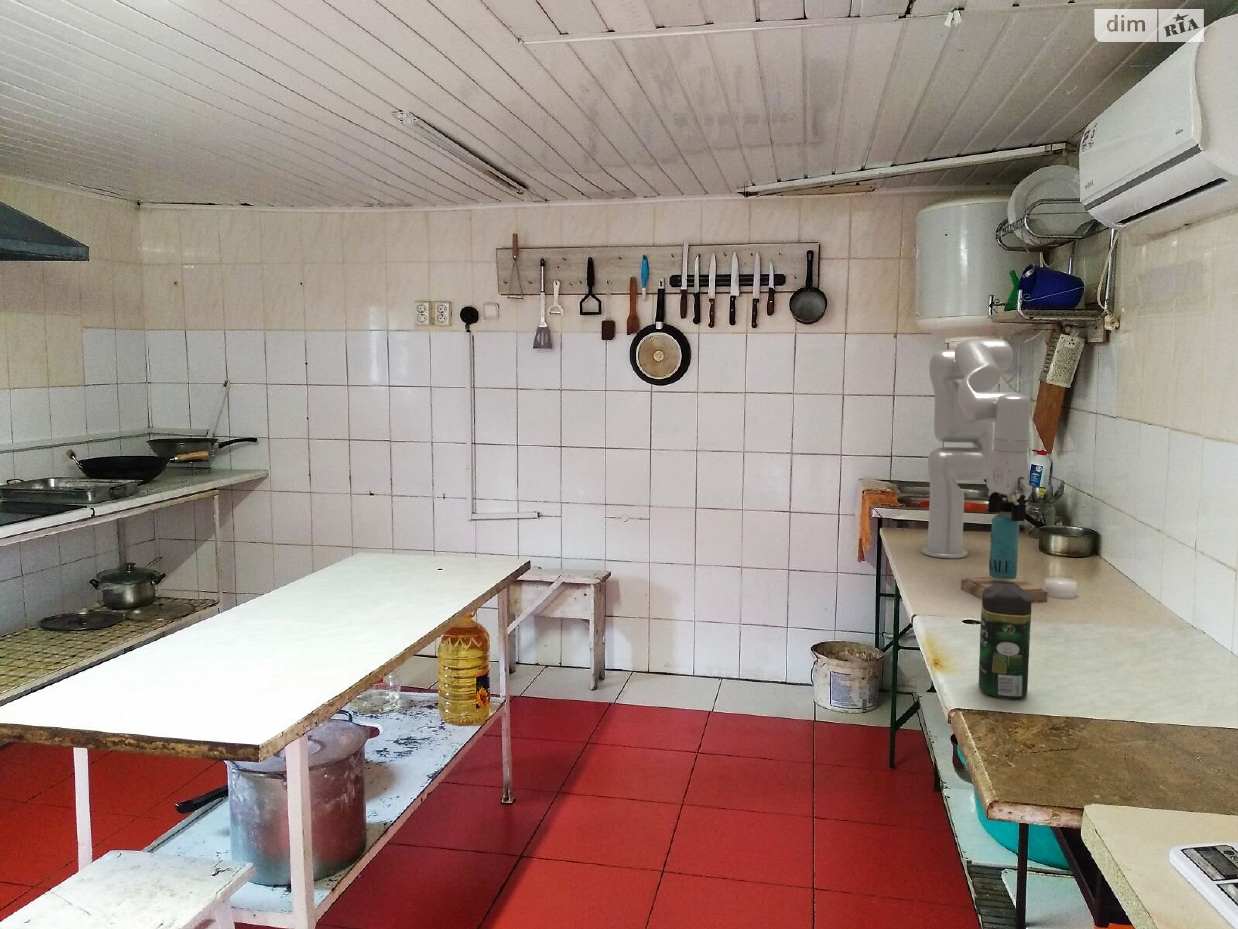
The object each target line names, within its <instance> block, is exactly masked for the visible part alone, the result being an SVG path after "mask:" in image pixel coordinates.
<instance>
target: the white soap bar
mask: <svg viewBox="0 0 1238 929" xmlns="http://www.w3.org/2000/svg"><path fill="white" fill-rule="evenodd" d="M1077 588H1078V582H1077V580H1074V579H1071V578H1067V577H1066V578H1064V577H1046V578H1044V591H1047V592H1048V594H1047V595H1048V596H1047V597H1050V596H1052V597H1051V598H1054V597H1056V598H1055V599H1060V598H1061V599H1063V600H1073V598H1074V599H1076V598H1077V590H1078V589H1077ZM1075 597H1076V598H1075Z"/></svg>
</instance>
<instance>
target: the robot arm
mask: <svg viewBox="0 0 1238 929" xmlns="http://www.w3.org/2000/svg"><path fill="white" fill-rule="evenodd" d="M1013 359H1014V351H1013V349H1012V346H1011V344H1010V343H1009V342H1008V341H1006V340H1005V339H1002V338H1001V339H999V338H971V339H965V340H963V341H961V342H959V343H958V344H957V345H956V347H955V349H954V348H951V349H943V350H938V351H936V352H935V353H933V354H932V355H931V357H930V360H929V367H928V368H929V369H928V370H929V378H930V382H931V385H932V388H933V391H934V411H933V412H934V414H933V415H934V416H933V420H934V421H933V422H934V424H933V428H934V429H933V431H934V433H933V434H934V436H935V438H936V440H937V441H939V442H943V443H961V444H962V443H965V444H967V443H968V444H969V443H971V444H972V447H966V446H964V447H961V446H960V447H959V446H944V447H938V448H935V449H932V451H930V453H929V454H928V457H927V467H928V477H929V504H928V505H929V506H928V508H929V509H928V511H929V512H928V528H927V529H928V533H927V537H925V539H924V540H925V542H927V546H924V547H922V548H921V552H922V554H923V555H926V556H929V557H933V558H940V559H941V558H942V559H963V558H966V557H968V551H967V550H966V549H963V536H964V534H963V533H964V517H965V516H964V515H965V514H964V513H965V494H964V491H963V490H962V489H961V487H960V486H959V485H958V484H957V481H981V480H982V481H984V480H985V481H986V490H987V491H988V492H987V496H988V506H987V513H989V514H995V513H996V514H997V513H998V514H999V513H1002V511H998V510H997V507H998V502H1002V501H1003V497H1002V496H1001V495H1003V496H1011V498H1012V502H1013V503H1014V504H1012V512H1011V514H1010V515H1011V520H1012V521H1020V522H1025V520H1026V508H1027V505H1028V502H1029V501H1030V499H1031V494H1032V493H1033V489H1032V487H1031V485H1029V484H1028V483H1029V480H1028V479H1029V464H1028V449H1029V448H1028V447H1029V436H1030V434H1029V433H1030V432H1029V431H1030V422H1031V420H1030V419H1031V399H1030V397H1029V396H1027V395H1024V394H1021V393H1019V392H1015V391H989V390H991V389H993V388H994V387H996V386H997V384H998V383H999V382H1000V380H1001V375H1002V373H1005V371H1007V370H1008V369H1009V368H1010V367H1011V365H1012V363H1013ZM958 380H961V381H960V382H959V381H958ZM993 423H994V424H993Z"/></svg>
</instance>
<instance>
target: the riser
mask: <svg viewBox="0 0 1238 929" xmlns="http://www.w3.org/2000/svg"><path fill="white" fill-rule="evenodd" d="M994 583H1002V584H1014V585H1018V586H1019V587H1020V588H1022V589H1024V590H1025V591H1026V592H1028V594H1029V595H1030V597H1031V600H1032V603H1036V602H1035V601H1040V602H1039V603H1042V602H1041V601H1047V602H1048V596H1047V594H1048V592H1047V591H1045V589H1043V587H1042V588H1041V587H1039V586H1037V585H1035V584H1032V583H1030V582H1027V581H1026V580H1022V579H1020V578H1017V577H1016V578H1015V579H1010V580H1006V579H997V578H993V577H991V576H981V577H979V576H978V577H966V578H965V579H961V583H960V590H961V591H964V592H967V594H968V593H969V594H971V595H973V596H975V597H977V598H979V599H981V600H982V597H983V591H984V589H985V588H987V587H989V586H991V585H993V584H994Z"/></svg>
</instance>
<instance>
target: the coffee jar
mask: <svg viewBox="0 0 1238 929" xmlns="http://www.w3.org/2000/svg"><path fill="white" fill-rule="evenodd" d="M981 600H982V601H981V611H980V612H981V613H980V626H979V627H980V629H979V634H980V635H979V662H978V663H979V664H978V685H979V688H980V690H981V691H982V692H983V694H986V695H989V696H993V697H995V698H998V699H1003V700H1004V699H1005V700H1012V699H1023V698H1025V697H1026V696H1027V694H1028V685H1029V663H1030V662H1029V660H1030V644H1031V643H1030V642H1031V625H1032V624H1031V622H1032V621H1031V620H1032V604H1033V602H1032V600H1031V597H1030V595H1029V594H1028V592H1026V591H1025V590H1024V589H1022V588H1020V587H1019V586H1018V585H1014V584H1002V583H994V584H993V585H991V586H989V587H987V588H985V589H984V591H983V597H982V599H981Z"/></svg>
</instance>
